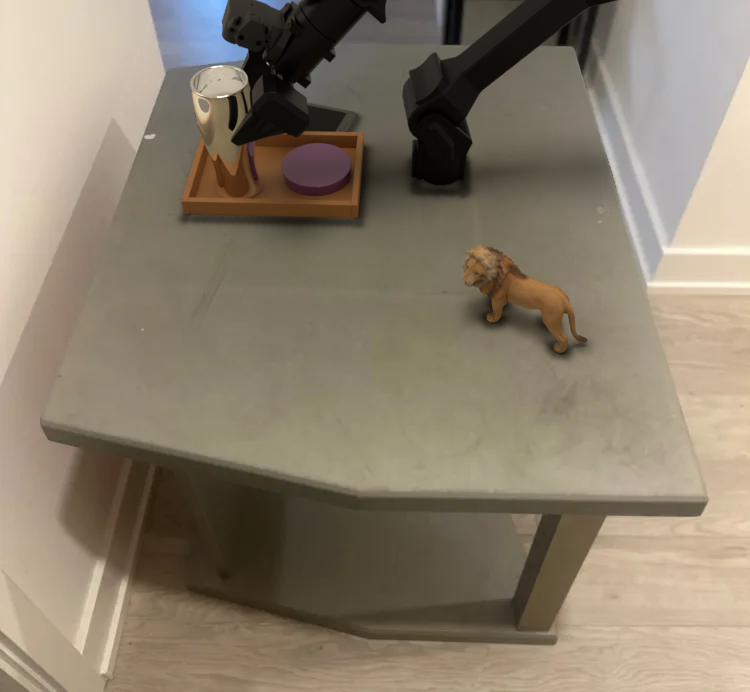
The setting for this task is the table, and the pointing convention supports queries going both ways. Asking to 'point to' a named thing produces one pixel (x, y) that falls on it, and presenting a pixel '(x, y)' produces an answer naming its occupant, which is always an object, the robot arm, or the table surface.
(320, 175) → the plum disc
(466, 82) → the robot arm
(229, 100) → the beer glass
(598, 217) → the table surface
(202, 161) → the tray
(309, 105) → the cell phone
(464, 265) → the lion figurine
